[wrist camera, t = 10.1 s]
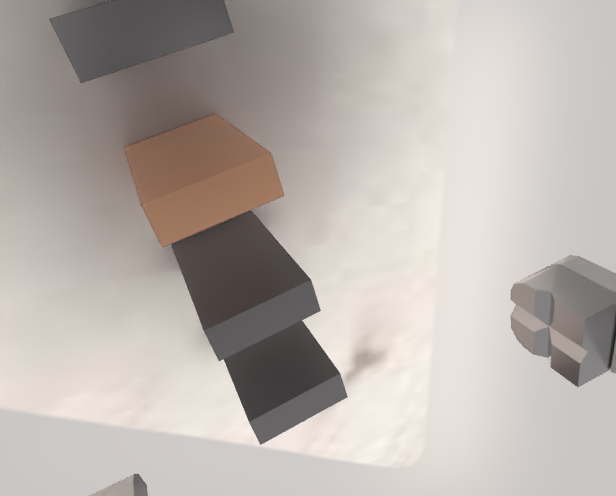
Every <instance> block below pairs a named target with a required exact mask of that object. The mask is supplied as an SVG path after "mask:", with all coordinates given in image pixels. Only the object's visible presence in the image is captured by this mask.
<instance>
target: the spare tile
mask: <svg viewBox="0 0 616 496" xmlns="http://www.w3.org/2000/svg"><path fill="white" fill-rule="evenodd" d="M124 149H125V152H126V155H127V159H128V162H129V166H130V169H131V172H132V176H133V179H134V183H135V186H136V189H137V193H138V196H139V199H140V203H141V206H142V208H143V210H144V212H145V214H146V216H147V218H148V220H149V222H150V224H151V226H152V228H153V230H154V232H155V234H156V236H157V238H158V240H159V242H160V244H161V246H162V247H165V246H167V245H169V244H172V243H174V242H176V241H179V240H181V239H183V238H186V237H188V236H190V235H193V234H195V233H197V232H200V231H202V230H204V229H207V228H209V227H212V226H214V225H216V224H219V223H221V222H223V221H226V220H228V219H230V218H233V217H235V216H237V215H240V214H242V213H244V212H247V211H249V210H251V209H254V208H256V207H259V206H261V205H263V204H266V203H268V202H270V201H273V200H275V199H277V198H280V197H282V196H284V193H283V190H282V186H281V183H280V180H279V177H278V174H277V170H276V167H275V164H274V161H273V158H272V154H271V153H270V152H269V151H268V150H266V149H265V148H263V147H262V146H261V145H259V144H258V143H256V142H255V141H254V140H252V139H251V138H249V137H248V136H247V135H245V134H244V133H242V132H241V131H240V130H238V129H237V128H235V127H234V126H233V125H231V124H230V123H228V122H227V121H226V120H224V119H223V118H221V117H220V116H219V115H217V114H213V115H211V116H208V117H205V118H202V119H200V120H197V121H194V122H192V123H189V124H186V125H183V126H181V127H178V128H175V129H173V130H170V131H167V132H164V133H162V134H159V135H156V136H154V137H151V138H148V139H145V140H143V141H140V142H137V143H135V144H132V145H129V146H127V147H124Z"/></svg>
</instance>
